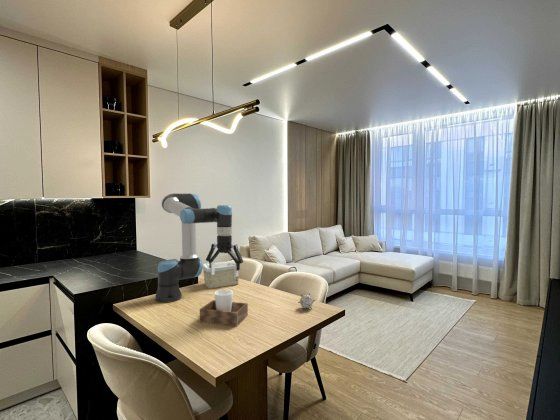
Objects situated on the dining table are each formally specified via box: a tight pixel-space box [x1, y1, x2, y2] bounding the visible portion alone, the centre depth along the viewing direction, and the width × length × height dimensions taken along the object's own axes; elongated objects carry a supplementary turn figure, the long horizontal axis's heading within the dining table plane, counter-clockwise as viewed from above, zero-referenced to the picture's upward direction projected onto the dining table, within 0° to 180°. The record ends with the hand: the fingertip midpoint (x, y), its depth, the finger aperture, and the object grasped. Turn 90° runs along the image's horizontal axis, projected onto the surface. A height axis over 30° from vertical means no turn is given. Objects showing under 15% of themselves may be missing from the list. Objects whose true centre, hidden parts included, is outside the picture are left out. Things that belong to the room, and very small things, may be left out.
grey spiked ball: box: [297, 293, 316, 311], centre depth 168 cm, size 9×8×10 cm
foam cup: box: [213, 289, 234, 312], centre depth 153 cm, size 10×9×13 cm
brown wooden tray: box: [199, 299, 249, 327], centre depth 153 cm, size 20×14×6 cm
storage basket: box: [202, 260, 240, 289], centre depth 216 cm, size 24×16×15 cm
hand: (224, 275), depth 156 cm, fingers open, 13 cm apart
